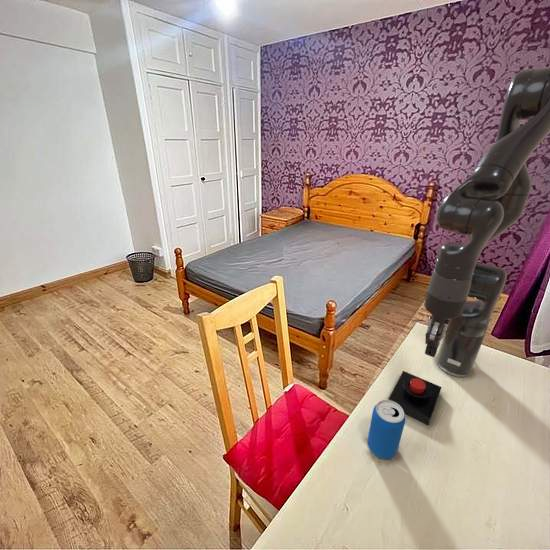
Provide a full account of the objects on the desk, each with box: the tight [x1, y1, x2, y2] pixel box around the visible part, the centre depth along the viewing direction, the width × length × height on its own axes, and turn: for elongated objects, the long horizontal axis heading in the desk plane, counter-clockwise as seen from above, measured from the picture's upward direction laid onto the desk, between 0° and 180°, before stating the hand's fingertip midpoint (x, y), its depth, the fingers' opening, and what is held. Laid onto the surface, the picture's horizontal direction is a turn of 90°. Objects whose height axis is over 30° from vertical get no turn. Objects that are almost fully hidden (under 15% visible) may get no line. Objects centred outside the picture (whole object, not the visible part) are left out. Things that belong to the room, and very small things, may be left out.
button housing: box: [388, 370, 442, 427], centre depth 80 cm, size 10×12×4 cm
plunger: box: [409, 378, 426, 394], centre depth 79 cm, size 4×4×2 cm
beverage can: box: [366, 399, 406, 460], centre depth 66 cm, size 6×6×12 cm
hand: (430, 353), depth 73 cm, fingers closed
